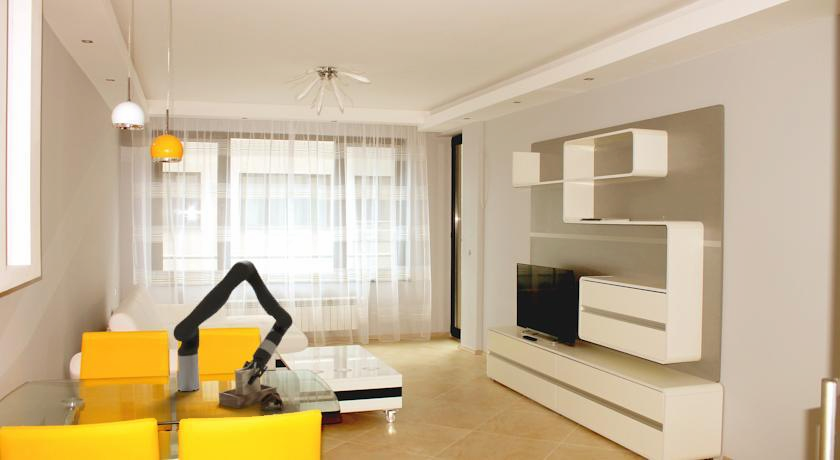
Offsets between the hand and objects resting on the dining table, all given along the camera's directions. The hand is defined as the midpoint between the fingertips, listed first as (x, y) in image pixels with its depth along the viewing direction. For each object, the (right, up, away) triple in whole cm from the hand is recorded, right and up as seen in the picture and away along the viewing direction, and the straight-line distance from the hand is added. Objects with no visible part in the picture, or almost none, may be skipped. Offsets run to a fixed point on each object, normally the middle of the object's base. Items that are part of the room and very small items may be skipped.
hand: (244, 383), depth 289 cm
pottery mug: (+16, -8, -13) cm, 22 cm away
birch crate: (+1, -5, +2) cm, 5 cm away
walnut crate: (+1, -8, +1) cm, 8 cm away
